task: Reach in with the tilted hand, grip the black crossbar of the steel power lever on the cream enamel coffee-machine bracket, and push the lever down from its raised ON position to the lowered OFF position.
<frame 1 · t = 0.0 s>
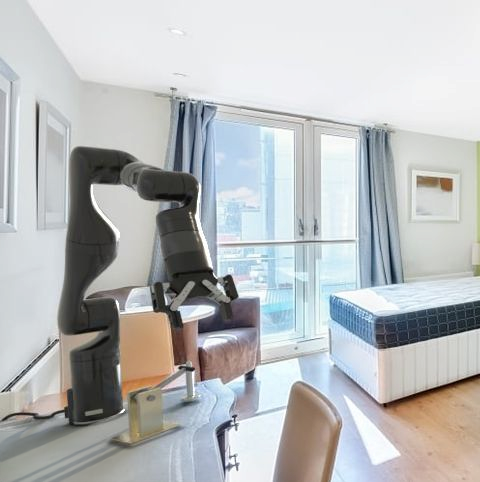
hand: (204, 324, 93), 31 cm above the table, tool tilted 20°, fingers open, 8 cm apart
screw: (190, 404, 127), on the table
power lever: (164, 383, 111), point 12 cm above the table, hinge at 25.0°
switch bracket: (147, 435, 108), on the table
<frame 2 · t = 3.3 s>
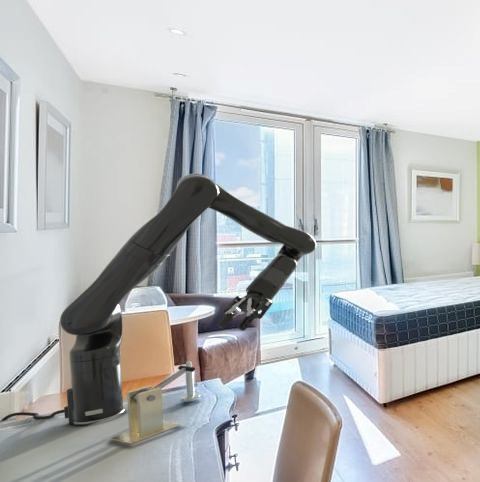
hand: (230, 328, 126), 23 cm above the table, tool tilted 45°, fingers open, 8 cm apart
nothing on the table moved.
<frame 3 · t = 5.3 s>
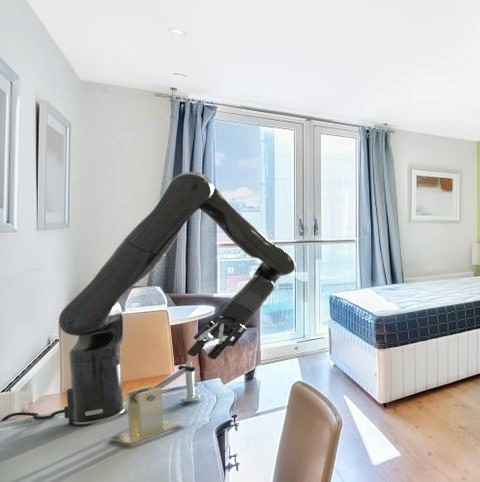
hand: (200, 356, 119), 16 cm above the table, tool tilted 45°, fingers open, 8 cm apart
nothing on the table moved.
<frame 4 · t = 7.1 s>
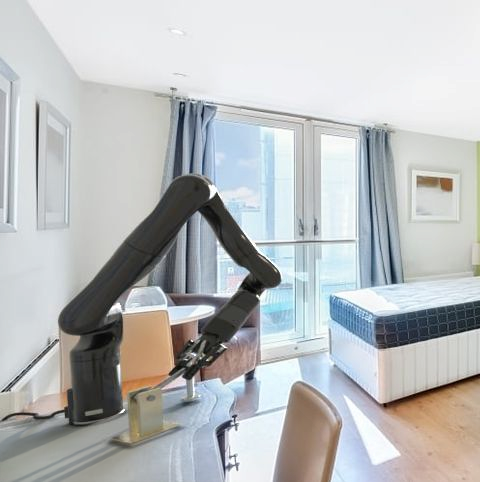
hand: (178, 377, 114), 12 cm above the table, tool tilted 45°, fingers closed on power lever, 5 cm apart
power lever: (164, 383, 111), point 12 cm above the table, hinge at 25.0°, touching gripper
everything else where it was.
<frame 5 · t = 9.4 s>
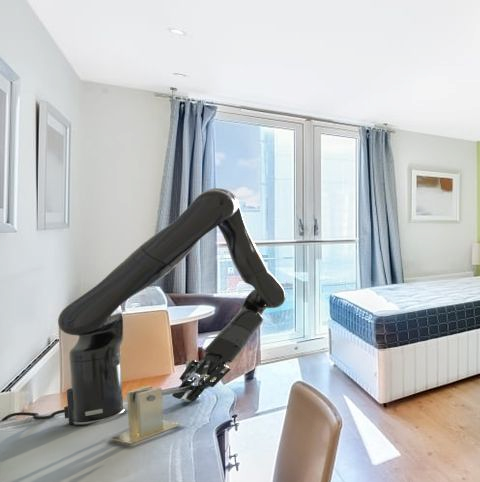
hand: (182, 398, 115), 6 cm above the table, tool tilted 45°, fingers closed on power lever, 5 cm apart
power lever: (167, 392, 112), point 9 cm above the table, hinge at -8.0°, touching gripper
everything else where it was.
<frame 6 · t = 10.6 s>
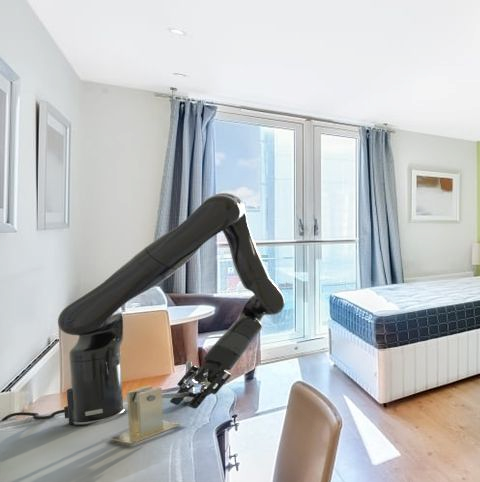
hand: (182, 405, 115), 5 cm above the table, tool tilted 45°, fingers open, 7 cm apart
power lever: (166, 395, 112), point 9 cm above the table, hinge at -18.3°
everything else where it was.
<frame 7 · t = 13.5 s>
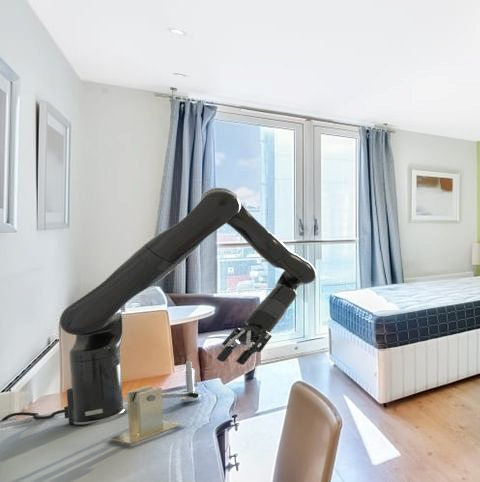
hand: (229, 361, 126), 13 cm above the table, tool tilted 45°, fingers open, 8 cm apart
nothing on the table moved.
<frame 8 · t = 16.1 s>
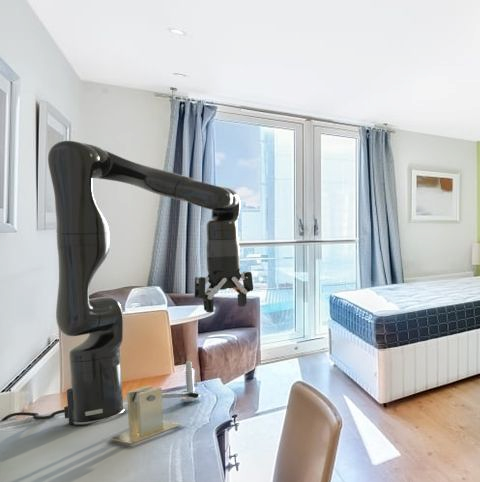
hand: (226, 309, 127), 28 cm above the table, tool pointing down, fingers open, 8 cm apart
nothing on the table moved.
at the end: power lever at -18° (first picture: +25°); screw moved 0.2 cm from its start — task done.
